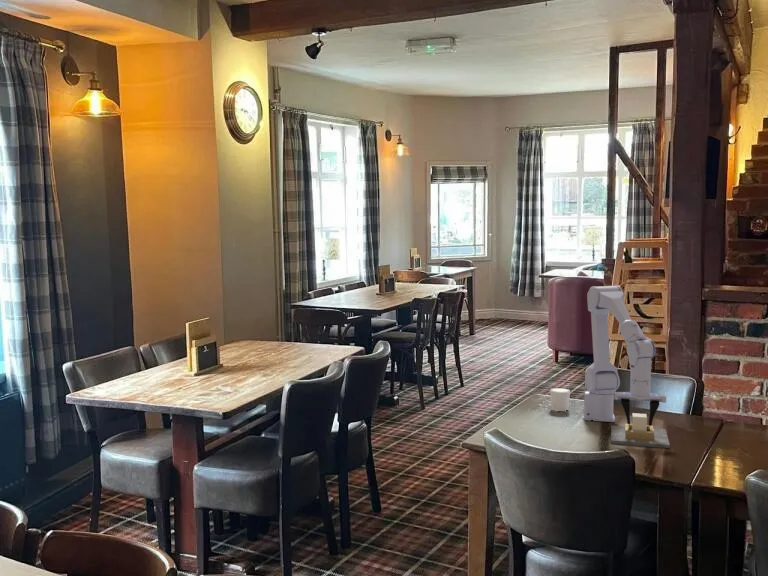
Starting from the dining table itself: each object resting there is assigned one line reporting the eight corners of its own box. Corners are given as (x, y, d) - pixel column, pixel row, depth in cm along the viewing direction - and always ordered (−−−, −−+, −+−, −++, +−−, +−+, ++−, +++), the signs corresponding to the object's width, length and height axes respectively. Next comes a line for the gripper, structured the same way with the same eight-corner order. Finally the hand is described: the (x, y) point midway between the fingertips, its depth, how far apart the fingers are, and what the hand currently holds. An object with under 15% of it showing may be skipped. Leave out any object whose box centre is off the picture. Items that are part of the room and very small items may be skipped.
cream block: (632, 436, 215) (632, 416, 215) (631, 432, 219) (632, 413, 219) (646, 437, 214) (646, 417, 214) (645, 433, 218) (646, 414, 217)
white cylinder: (571, 408, 252) (572, 388, 251) (568, 413, 246) (568, 392, 245) (552, 406, 255) (552, 386, 254) (547, 411, 248) (548, 391, 248)
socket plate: (611, 443, 212) (611, 433, 211) (611, 428, 227) (611, 419, 227) (669, 448, 207) (669, 438, 207) (665, 432, 222) (665, 422, 222)
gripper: (614, 381, 214) (614, 426, 215) (667, 384, 209) (666, 429, 211) (614, 376, 220) (613, 419, 222) (665, 378, 216) (664, 423, 217)
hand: (639, 424), depth 217 cm, fingers open, 5 cm apart
